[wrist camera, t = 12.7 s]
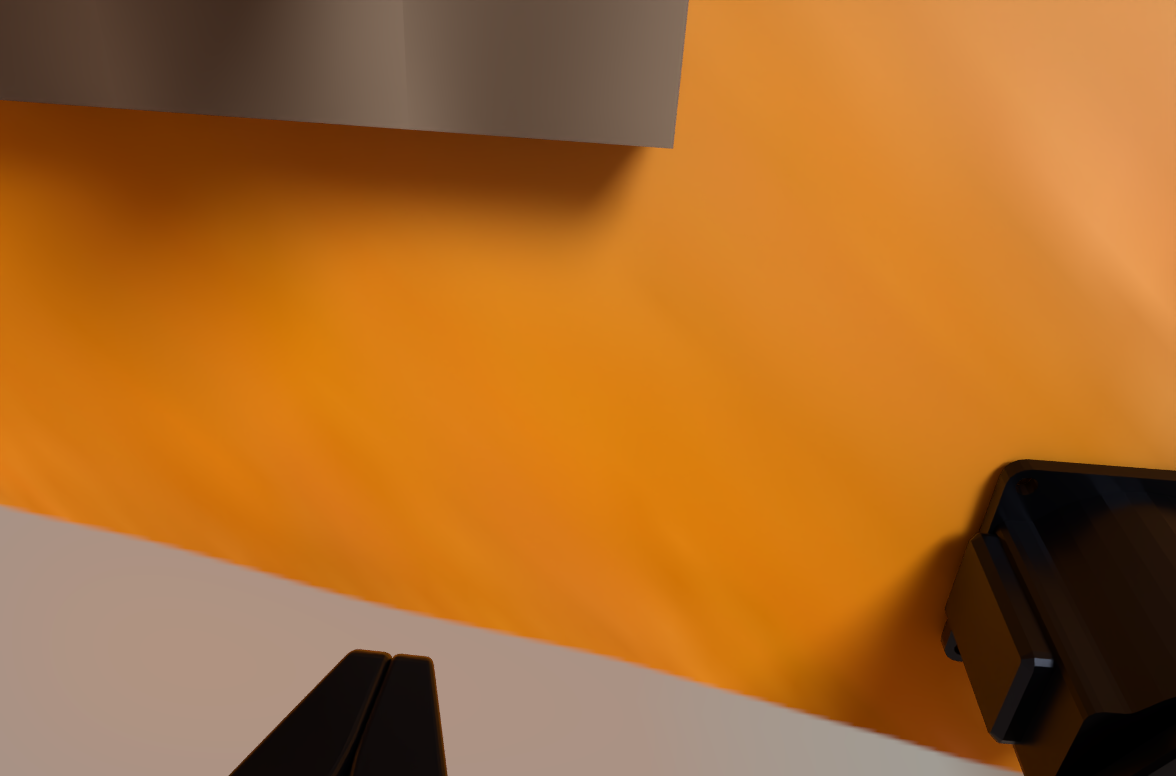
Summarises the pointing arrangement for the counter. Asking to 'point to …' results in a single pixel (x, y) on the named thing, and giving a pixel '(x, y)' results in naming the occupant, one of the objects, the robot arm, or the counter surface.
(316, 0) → the socket board
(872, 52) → the counter surface
